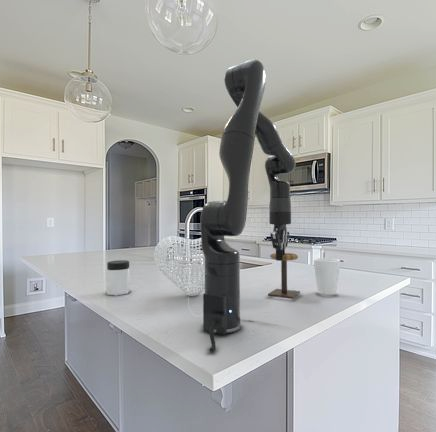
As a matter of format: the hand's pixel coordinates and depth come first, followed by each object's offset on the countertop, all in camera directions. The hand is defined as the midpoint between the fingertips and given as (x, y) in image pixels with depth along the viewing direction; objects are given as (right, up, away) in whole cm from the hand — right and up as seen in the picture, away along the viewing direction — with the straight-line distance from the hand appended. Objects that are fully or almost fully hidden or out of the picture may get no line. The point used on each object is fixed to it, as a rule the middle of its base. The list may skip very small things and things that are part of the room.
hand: (280, 259), depth 108 cm
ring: (+2, +1, +3) cm, 4 cm away
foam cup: (+18, -14, +6) cm, 24 cm away
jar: (-61, -14, +10) cm, 63 cm away
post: (+2, -14, +3) cm, 14 cm away
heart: (-31, -14, +5) cm, 35 cm away
